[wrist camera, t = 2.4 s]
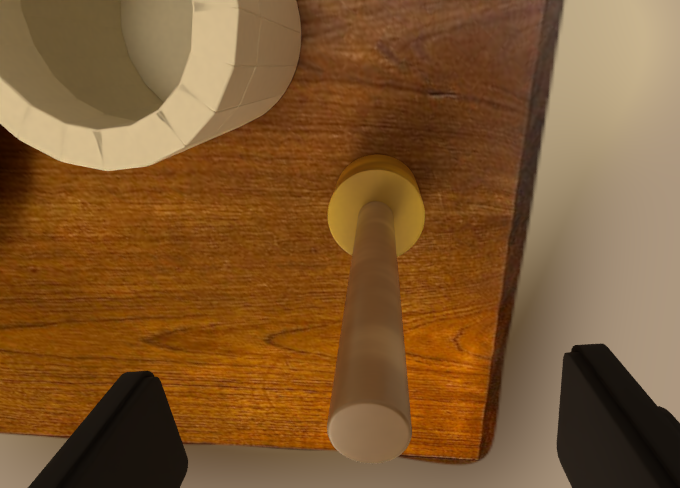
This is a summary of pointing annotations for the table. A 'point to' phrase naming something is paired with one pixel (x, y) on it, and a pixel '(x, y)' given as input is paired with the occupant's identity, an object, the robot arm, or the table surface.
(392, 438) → the brush
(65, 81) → the jar
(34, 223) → the table surface
